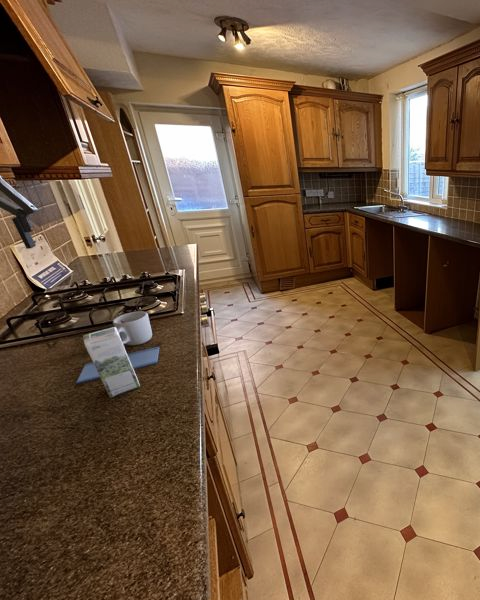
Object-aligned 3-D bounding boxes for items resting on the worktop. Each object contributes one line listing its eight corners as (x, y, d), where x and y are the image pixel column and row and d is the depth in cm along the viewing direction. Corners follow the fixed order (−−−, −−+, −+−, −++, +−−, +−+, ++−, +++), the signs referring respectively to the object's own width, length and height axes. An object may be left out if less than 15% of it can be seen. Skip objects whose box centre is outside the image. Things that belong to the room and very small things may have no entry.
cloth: (76, 384, 77) (75, 382, 77) (85, 365, 84) (85, 364, 84) (157, 363, 85) (156, 362, 84) (159, 347, 92) (158, 346, 92)
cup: (135, 353, 89) (125, 328, 86) (107, 354, 89) (95, 328, 86) (162, 334, 99) (153, 310, 96) (136, 334, 99) (127, 311, 96)
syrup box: (137, 376, 80) (115, 325, 74) (141, 387, 76) (118, 334, 70) (107, 387, 76) (82, 333, 70) (110, 399, 72) (83, 344, 66)
